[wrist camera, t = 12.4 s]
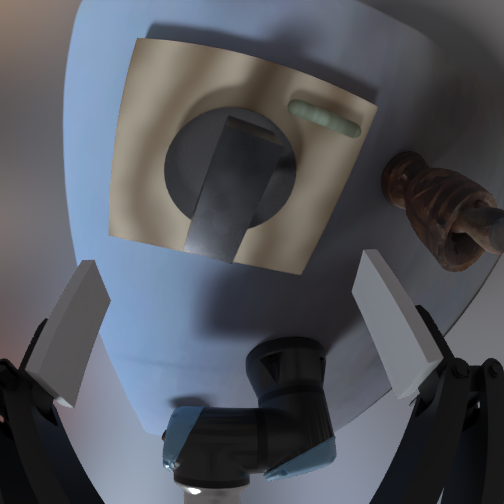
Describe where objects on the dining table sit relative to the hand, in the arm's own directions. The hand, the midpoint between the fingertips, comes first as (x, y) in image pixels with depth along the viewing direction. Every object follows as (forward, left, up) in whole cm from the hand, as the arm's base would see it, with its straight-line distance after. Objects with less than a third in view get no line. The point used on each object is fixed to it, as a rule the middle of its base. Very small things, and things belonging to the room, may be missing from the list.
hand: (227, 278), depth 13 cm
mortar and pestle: (-19, -5, -18) cm, 27 cm away
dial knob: (0, +1, -16) cm, 16 cm away
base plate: (0, 0, -18) cm, 18 cm away
